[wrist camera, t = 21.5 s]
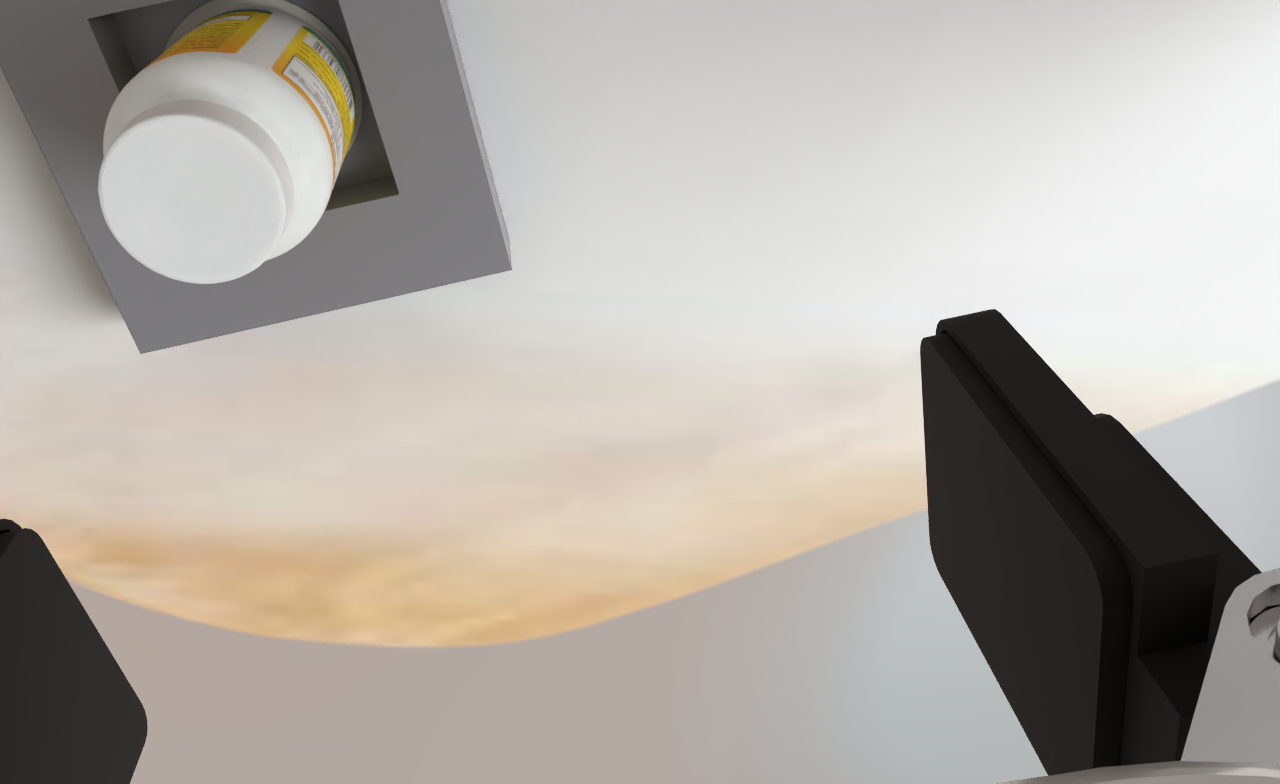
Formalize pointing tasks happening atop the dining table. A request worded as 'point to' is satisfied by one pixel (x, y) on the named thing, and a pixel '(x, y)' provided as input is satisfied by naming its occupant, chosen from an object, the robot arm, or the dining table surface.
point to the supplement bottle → (227, 146)
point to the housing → (363, 192)
